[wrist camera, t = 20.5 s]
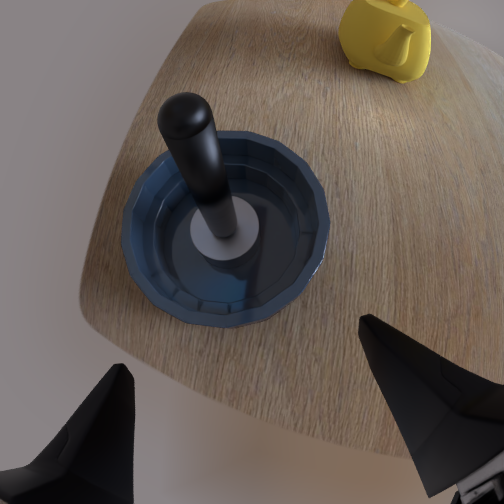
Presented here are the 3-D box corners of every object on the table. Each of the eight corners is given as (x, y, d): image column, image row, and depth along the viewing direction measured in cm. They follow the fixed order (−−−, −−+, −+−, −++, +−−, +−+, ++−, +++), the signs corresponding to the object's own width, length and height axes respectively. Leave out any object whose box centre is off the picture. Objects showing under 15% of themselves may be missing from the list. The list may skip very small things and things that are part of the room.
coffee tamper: (271, 227, 20) (279, 79, 7) (237, 280, 19) (189, 183, 7) (219, 198, 21) (173, 51, 8) (185, 248, 20) (87, 132, 7)
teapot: (425, 124, 23) (468, 53, 13) (327, 91, 25) (344, 3, 14) (410, 46, 28) (430, -7, 18) (339, 23, 29) (348, -35, 19)
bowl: (272, 358, 18) (275, 366, 14) (122, 279, 20) (88, 264, 16) (338, 203, 21) (356, 171, 17) (197, 149, 23) (184, 112, 18)
